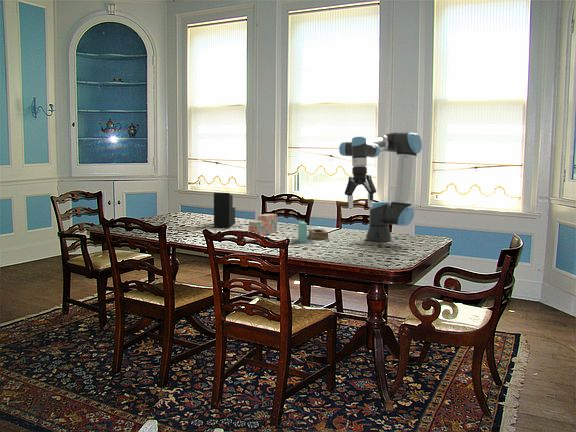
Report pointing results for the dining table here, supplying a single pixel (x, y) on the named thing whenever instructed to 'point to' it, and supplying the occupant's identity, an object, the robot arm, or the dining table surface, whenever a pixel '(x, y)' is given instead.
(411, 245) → the dining table surface
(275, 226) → the stack of blocks
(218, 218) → the bookend
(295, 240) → the mat
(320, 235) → the brown hollow block
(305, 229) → the tile
